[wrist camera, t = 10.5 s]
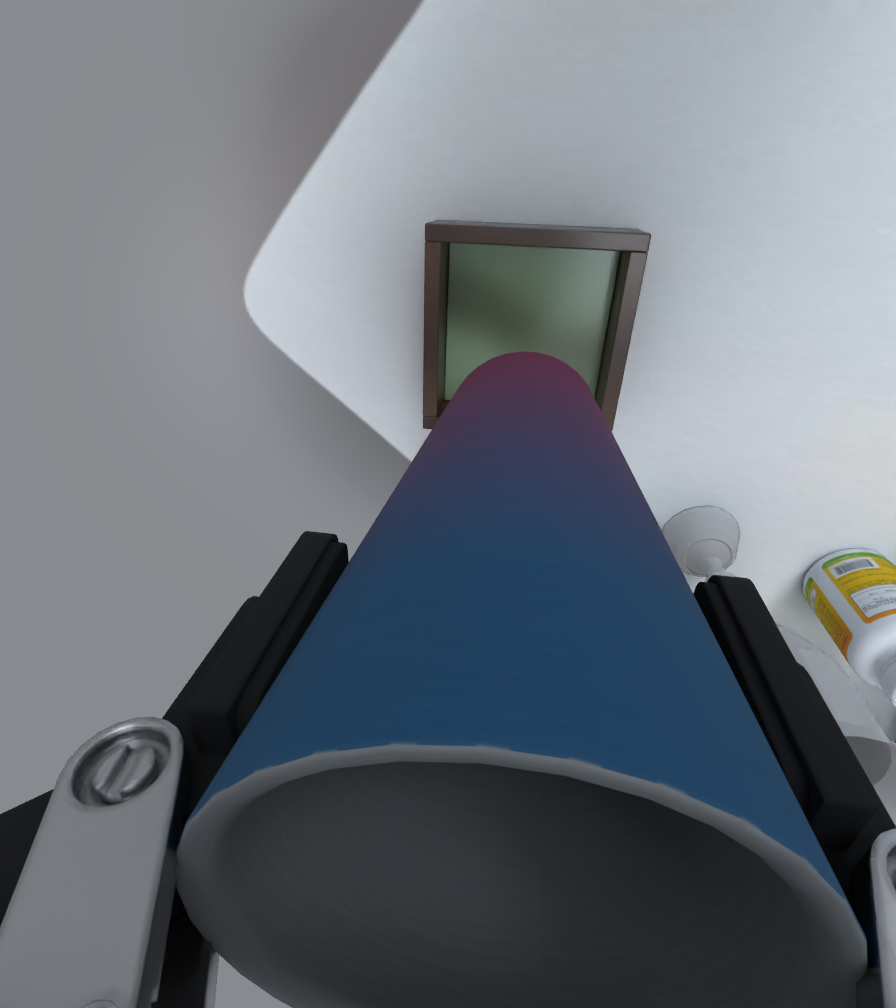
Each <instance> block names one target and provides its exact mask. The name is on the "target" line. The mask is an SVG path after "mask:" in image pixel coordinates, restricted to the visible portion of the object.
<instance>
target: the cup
mask: <svg viewBox="0 0 896 1008" xmlns="http://www.w3.org/2000/svg"><path fill="white" fill-rule="evenodd" d="M176 856H177V859H178V862H179V867H178V873H177V879H176V885H177V890H178V893H179V895H180V897H181V900H182V902H183V904H184V907H185V909H186V911H187V914H188V916H189V918H190V920H191V921H192V922H193V924H194V925H195V926H196V928H197V929H198V930H199V932H200V933H201V934H202V936H203V937H204V938H205V939H206V940H208V941H211V942H212V945H213V948H214V950H215V951H216V952H217V953H218V954H219V955H220V956H221V957H223V958H224V959H225V960H226V961H227V962H228V963H229V964H230V965H231V966H232V967H234V968H235V969H236V970H237V971H238V972H239V973H240V974H241V975H243V976H244V977H246V978H247V979H248V980H250V981H251V982H253V983H254V984H256V985H257V986H259V987H260V988H261V989H263V990H264V991H266V992H267V993H269V994H270V995H272V996H273V997H274V998H276V999H278V1000H280V1001H281V1002H283V1003H285V1004H287V1005H289V1006H290V1007H292V1008H855V1007H856V1005H857V1001H856V985H855V983H856V982H857V981H858V980H860V979H861V978H862V977H863V976H864V974H865V973H866V971H867V941H866V936H865V934H864V932H863V930H862V928H861V926H860V924H859V922H858V920H857V918H856V916H855V914H854V912H853V910H852V908H851V906H850V904H849V902H848V900H847V898H846V896H845V894H844V892H843V890H842V888H841V886H840V884H839V882H838V880H837V878H836V876H835V874H834V872H833V870H832V868H831V866H830V864H829V862H828V860H827V858H826V856H825V854H824V853H823V851H822V849H821V847H820V845H819V843H818V841H817V839H816V837H815V835H814V833H813V831H812V829H811V827H810V825H809V823H808V821H807V819H806V817H805V815H804V813H803V811H802V809H801V807H800V805H799V803H798V801H797V799H796V797H795V795H794V793H793V791H792V789H791V787H790V785H789V783H788V781H787V779H786V777H785V775H784V773H783V771H782V769H781V767H780V765H779V763H778V761H777V759H776V757H775V755H774V753H773V751H772V749H771V747H770V745H769V743H768V741H767V739H766V737H765V735H764V733H763V731H762V730H761V728H760V726H759V724H758V722H757V720H756V718H755V716H754V714H753V712H752V710H751V708H750V706H749V704H748V702H747V700H746V698H745V696H744V694H743V692H742V690H741V688H740V686H739V684H738V682H737V680H736V678H735V676H734V674H733V672H732V670H731V668H730V666H729V664H728V662H727V660H726V658H725V656H724V654H723V652H722V650H721V648H720V646H719V644H718V642H717V640H716V638H715V636H714V634H713V632H712V630H711V628H710V626H709V624H708V622H707V620H706V618H705V616H704V614H703V612H702V610H701V608H700V607H699V605H698V603H697V601H696V599H695V597H694V595H693V593H692V591H691V589H690V587H689V585H688V583H687V581H686V579H685V577H684V575H683V573H682V571H681V569H680V567H679V565H678V563H677V561H676V559H675V557H674V555H673V553H672V551H671V549H670V547H669V545H668V543H667V541H666V539H665V537H664V535H663V533H662V531H661V529H660V527H659V525H658V523H657V521H656V519H655V517H654V515H653V513H652V511H651V509H650V507H649V505H648V503H647V501H646V499H645V497H644V495H643V493H642V491H641V489H640V487H639V486H638V484H637V482H636V480H635V478H634V476H633V474H632V472H631V470H630V468H629V466H628V464H627V462H626V460H625V458H624V456H623V454H622V452H621V450H620V448H619V446H618V444H617V442H616V440H615V438H614V436H613V434H612V432H611V430H610V428H609V426H608V424H607V422H606V420H605V418H604V416H603V414H602V412H601V410H600V408H599V406H598V404H597V402H596V400H595V398H594V396H593V394H592V392H591V390H590V388H589V386H588V384H587V383H586V382H585V381H584V379H583V378H582V377H581V376H580V374H579V373H578V372H576V371H575V370H574V369H573V368H571V367H570V366H569V365H568V364H567V363H565V362H563V361H561V360H559V359H557V358H555V357H553V356H549V355H545V354H542V353H538V352H525V351H521V352H513V353H506V354H503V355H500V356H497V357H494V358H492V359H490V360H488V361H486V362H484V363H483V364H481V365H479V366H478V367H477V368H476V369H475V370H473V371H472V372H471V373H470V374H469V375H468V376H467V377H466V378H465V380H464V381H463V382H462V384H461V385H460V386H459V388H458V389H457V391H456V392H455V394H454V396H453V397H452V399H451V400H450V402H449V404H448V405H447V407H446V408H445V410H444V412H443V413H442V415H441V416H440V418H439V419H438V421H437V423H436V424H435V426H434V427H433V429H432V431H431V432H430V434H429V435H428V437H427V439H426V440H425V442H424V443H423V445H422V447H421V448H420V450H419V451H418V453H417V455H416V456H415V458H414V459H413V461H412V463H411V464H410V466H409V468H408V469H407V471H406V472H405V474H404V475H403V477H402V479H401V480H400V482H399V483H398V485H397V487H396V488H395V490H394V491H393V493H392V494H391V496H390V498H389V499H388V501H387V503H386V504H385V506H384V507H383V509H382V510H381V512H380V514H379V515H378V517H377V518H376V520H375V522H374V523H373V525H372V527H371V528H370V530H369V531H368V533H367V534H366V536H365V538H364V539H363V541H362V542H361V544H360V546H359V547H358V549H357V550H356V552H355V554H354V555H353V557H352V558H351V560H350V562H349V563H348V565H347V566H346V568H345V569H344V571H343V573H342V574H341V576H340V577H339V579H338V581H337V582H336V584H335V585H334V587H333V589H332V590H331V592H330V593H329V595H328V597H327V598H326V600H325V601H324V603H323V605H322V606H321V608H320V609H319V611H318V613H317V614H316V616H315V617H314V619H313V621H312V622H311V624H310V625H309V627H308V629H307V630H306V632H305V633H304V635H303V637H302V638H301V640H300V641H299V643H298V644H297V646H296V648H295V649H294V651H293V652H292V654H291V656H290V657H289V659H288V660H287V662H286V664H285V665H284V667H283V668H282V670H281V672H280V673H279V675H278V676H277V678H276V680H275V681H274V683H273V684H272V686H271V688H270V689H269V691H268V692H267V694H266V696H265V697H264V699H263V700H262V702H261V704H260V705H259V707H258V708H257V710H256V712H255V713H254V715H253V716H252V718H251V719H250V721H249V723H248V724H247V726H246V727H245V729H244V731H243V732H242V734H241V735H240V737H239V739H238V740H237V742H236V743H235V745H234V747H233V748H232V750H231V751H230V753H229V755H228V756H227V758H226V759H225V761H224V763H223V764H222V766H221V767H220V769H219V771H218V772H217V774H216V775H215V777H214V779H213V780H212V782H211V783H210V785H209V787H208V788H207V790H206V791H205V793H204V794H203V796H202V798H201V799H200V801H199V802H198V804H197V806H196V807H195V809H194V810H193V812H192V814H191V815H190V817H189V818H188V820H187V822H186V824H185V827H184V830H183V833H182V835H181V838H180V841H179V844H178V846H177V850H176Z"/></svg>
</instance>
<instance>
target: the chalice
mask: <svg viewBox="0 0 896 1008" xmlns="http://www.w3.org/2000/svg"><path fill="white" fill-rule="evenodd" d="M662 533H663V535H664V537H665V539H666V541H667V543H668V545H669V547H670V549H671V551H672V553H673V555H674V557H675V559H676V561H677V563H678V565H679V567H680V569H682V570H683V571H684V572H686V573H688V574H690V575H694V576H698V577H707V578H706V580H705V582H707V581H708V579H709V578H710V577H711V576H712V575H721V576H731V577H735V576H734V575H733V574H731V573H729V572H725V570H726V569H727V568H728V567H729V566H730V565H731V564H732V563H733V561H734V559H735V558H736V554H737V548H738V542H739V536H740V530H739V526H738V523H737V522H736V520H735V519H734V518H733V516H732V515H731V514H729V513H727V512H726V511H724V510H722V509H719V508H715V507H711V506H703V507H694V508H690V509H687V510H684V511H682V512H680V513H679V514H677V515H675V516H673V517H672V518H671V519H670V520H669V521H668V522H667V523H666V524H665V526H664V528H663V530H662ZM775 624H776V623H775ZM776 625H777V627H778V629H779V631H780V633H781V634H782V636H783V638H784V640H785V642H786V643H787V645H788V647H789V649H790V651H791V652H792V654H793V656H794V658H795V660H796V661H797V662H798V663H799V664H801V665H802V666H804V668H805V669H806V670H807V672H808V673H809V674H810V676H811V678H812V680H813V681H814V683H815V685H816V687H817V688H818V690H819V692H820V694H821V695H822V697H823V699H824V701H825V702H826V704H827V706H828V708H829V710H830V711H831V713H832V715H833V717H834V718H835V720H836V722H837V724H838V725H839V727H840V729H841V731H842V732H843V734H844V736H845V738H846V739H847V741H848V743H849V745H850V746H851V748H852V750H853V752H854V754H855V755H856V757H857V759H858V761H859V762H860V764H861V766H862V768H863V769H864V771H865V773H866V775H867V776H868V778H869V780H870V782H871V783H872V785H873V787H874V789H875V791H876V792H877V794H878V796H879V798H880V799H881V801H882V803H883V805H884V806H885V808H886V810H887V812H888V813H889V815H890V817H891V819H892V820H893V822H894V824H895V825H896V743H895V742H893V741H892V740H890V739H888V737H887V735H886V734H885V732H884V731H883V729H882V728H881V726H880V725H879V723H878V722H877V720H876V718H875V717H874V715H873V714H872V712H871V711H870V709H869V708H868V706H867V705H866V703H865V701H864V700H863V698H862V697H861V695H860V694H859V692H858V691H857V689H856V688H855V686H854V684H853V683H852V681H851V680H850V678H849V677H848V675H847V674H846V673H845V671H844V670H843V669H842V668H841V666H840V665H839V664H838V663H837V662H836V661H835V660H834V659H832V658H831V657H830V656H828V655H827V654H825V653H824V652H823V651H821V650H820V649H819V648H817V647H816V646H814V645H813V644H812V643H810V642H809V641H808V640H806V639H804V638H802V637H801V636H799V635H797V634H795V633H793V632H791V631H789V630H787V629H785V628H784V627H782V626H780V625H778V624H776Z"/></svg>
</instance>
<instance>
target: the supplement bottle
mask: <svg viewBox="0 0 896 1008" xmlns="http://www.w3.org/2000/svg"><path fill="white" fill-rule="evenodd" d="M803 592H804V596H805V598H806V600H807V601H808V603H809V605H810V606H811V608H812V609H813V611H814V612H815V614H816V615H817V617H818V618H819V620H820V621H821V623H822V624H823V626H824V627H825V629H826V630H827V632H828V633H829V635H830V636H831V638H832V639H833V641H834V642H835V644H836V645H837V647H838V648H839V650H840V651H841V653H842V654H843V656H844V657H845V659H846V660H847V662H848V663H849V665H850V666H851V667H852V669H853V670H854V671H855V673H856V674H857V675H858V676H859V677H860V678H861V679H863V680H864V681H866V682H867V683H869V684H871V685H873V686H876V687H879V688H882V690H883V692H884V693H885V694H886V696H887V697H888V698H889V700H890V701H891V702H892V704H893V705H894V706H895V708H896V567H895V566H894V565H893V564H892V563H891V562H890V561H889V560H888V559H887V558H885V557H884V556H883V555H881V554H879V553H877V552H875V551H871V550H867V549H847V550H841V551H838V552H835V553H832V554H830V555H827V556H825V557H824V558H822V559H820V560H819V561H818V562H816V563H815V564H814V565H813V566H812V567H811V569H810V570H809V571H808V573H807V575H806V576H805V579H804V582H803Z"/></svg>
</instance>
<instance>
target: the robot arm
mask: <svg viewBox="0 0 896 1008" xmlns="http://www.w3.org/2000/svg"><path fill="white" fill-rule="evenodd" d="M348 563H349V562H348V550H347V545H346V544H345V543H340V542H338V538H337V535H335V534H329V533H318V532H310V531H306V532H304V533H303V534H302V535H301V536H300V538H299V539H298V541H297V542H296V544H295V545H294V547H293V548H292V550H291V551H290V553H289V554H288V556H287V557H286V558H285V560H284V561H283V563H282V564H281V566H280V567H279V569H278V570H277V572H276V573H275V575H274V576H273V578H272V579H271V580H270V582H269V583H268V585H267V586H266V588H265V589H264V591H263V592H262V594H261V595H260V597H257V596H253V597H251V598H248V599H247V600H246V602H245V603H244V604H243V605H242V606H241V608H240V609H239V611H238V612H237V613H236V615H235V616H234V618H233V619H232V620H231V622H230V623H229V625H228V626H227V627H226V629H225V630H224V632H223V633H222V635H221V636H220V637H219V639H218V640H217V642H216V643H215V645H214V646H213V647H212V649H211V650H210V651H209V653H208V654H207V656H206V657H205V659H204V660H203V661H202V663H201V664H200V666H199V667H198V668H197V670H196V671H195V673H194V674H193V675H192V677H191V679H190V680H189V681H188V683H187V684H186V685H185V687H184V688H183V690H182V691H181V692H180V694H179V695H178V697H177V698H176V699H175V701H174V702H173V704H172V705H171V707H170V708H169V709H168V711H167V712H166V714H165V715H164V716H163V718H162V719H160V718H155V717H140V718H133V719H129V720H126V721H122V722H119V723H116V724H114V725H112V726H110V727H108V728H106V729H104V730H102V731H100V732H98V733H97V734H96V735H94V736H93V737H92V738H90V739H89V740H87V741H86V742H85V743H84V744H82V745H81V746H80V747H79V748H78V750H77V751H76V752H75V753H74V754H73V755H72V756H71V757H70V758H69V759H68V761H67V763H66V764H65V766H64V768H63V770H62V772H61V773H60V775H59V777H58V780H57V782H56V785H55V788H54V789H53V790H51V791H48V792H46V793H44V794H42V795H40V796H38V797H36V798H34V799H32V800H29V801H27V802H25V803H23V804H21V805H19V806H17V807H15V808H13V809H11V810H8V811H7V812H4V813H2V814H0V1008H214V1006H215V994H216V984H217V973H218V962H219V954H218V953H217V952H216V951H215V950H214V948H213V945H212V942H211V941H208V940H206V939H205V938H204V937H203V936H202V934H201V933H200V932H199V930H198V929H197V928H196V926H195V925H194V924H193V922H192V921H191V920H190V918H189V916H188V914H187V911H186V909H185V907H184V904H183V902H182V900H181V897H180V895H179V893H178V890H177V885H176V879H177V873H178V867H179V862H178V859H177V856H176V850H177V846H178V844H179V841H180V838H181V835H182V833H183V830H184V827H185V824H186V822H187V820H188V818H189V817H190V815H191V814H192V812H193V810H194V809H195V807H196V806H197V804H198V802H199V801H200V799H201V798H202V796H203V794H204V793H205V791H206V790H207V788H208V787H209V785H210V783H211V782H212V780H213V779H214V777H215V775H216V774H217V772H218V771H219V769H220V767H221V766H222V764H223V763H224V761H225V759H226V758H227V756H228V755H229V753H230V751H231V750H232V748H233V747H234V745H235V743H236V742H237V740H238V739H239V737H240V735H241V734H242V732H243V731H244V729H245V727H246V726H247V724H248V723H249V721H250V719H251V718H252V716H253V715H254V713H255V712H256V710H257V708H258V707H259V705H260V704H261V702H262V700H263V699H264V697H265V696H266V694H267V692H268V691H269V689H270V688H271V686H272V684H273V683H274V681H275V680H276V678H277V676H278V675H279V673H280V672H281V670H282V668H283V667H284V665H285V664H286V662H287V660H288V659H289V657H290V656H291V654H292V652H293V651H294V649H295V648H296V646H297V644H298V643H299V641H300V640H301V638H302V637H303V635H304V633H305V632H306V630H307V629H308V627H309V625H310V624H311V622H312V621H313V619H314V617H315V616H316V614H317V613H318V611H319V609H320V608H321V606H322V605H323V603H324V601H325V600H326V598H327V597H328V595H329V593H330V592H331V590H332V589H333V587H334V585H335V584H336V582H337V581H338V579H339V577H340V576H341V574H342V573H343V571H344V569H345V568H346V566H347V565H348ZM693 595H694V597H695V599H696V601H697V603H698V605H699V607H700V608H701V610H702V612H703V614H704V616H705V618H706V620H707V622H708V624H709V626H710V628H711V630H712V632H713V634H714V636H715V638H716V640H717V642H718V644H719V646H720V648H721V650H722V652H723V654H724V656H725V658H726V660H727V662H728V664H729V666H730V668H731V670H732V672H733V674H734V676H735V678H736V680H737V682H738V684H739V686H740V688H741V690H742V692H743V694H744V696H745V698H746V700H747V702H748V704H749V706H750V708H751V710H752V712H753V714H754V716H755V718H756V720H757V722H758V724H759V726H760V728H761V730H762V731H763V733H764V735H765V737H766V739H767V741H768V743H769V745H770V747H771V749H772V751H773V753H774V755H775V757H776V759H777V761H778V763H779V765H780V767H781V769H782V771H783V773H784V775H785V777H786V779H787V781H788V783H789V785H790V787H791V789H792V791H793V793H794V795H795V797H796V799H797V801H798V803H799V805H800V807H801V809H802V811H803V813H804V815H805V817H806V819H807V821H808V823H809V825H810V827H811V829H812V831H813V833H814V835H815V837H816V839H817V841H818V843H819V845H820V847H821V849H822V851H823V853H824V854H825V856H826V858H827V860H828V862H829V864H830V866H831V868H832V870H833V872H834V874H835V876H836V878H837V880H838V882H839V884H840V886H841V888H842V890H843V892H844V894H845V896H846V898H847V900H848V902H849V904H850V906H851V908H852V910H853V912H854V914H855V916H856V918H857V920H858V922H859V924H860V926H861V928H862V930H863V932H864V934H865V936H866V941H867V971H866V973H865V974H864V976H863V977H862V978H861V979H860V980H858V981H857V982H856V983H855V985H856V1001H857V1005H856V1007H855V1008H896V826H895V824H894V822H893V820H892V819H891V817H890V815H889V813H888V812H887V810H886V808H885V806H884V805H883V803H882V801H881V799H880V798H879V796H878V794H877V792H876V791H875V789H874V787H873V785H872V783H871V782H870V780H869V778H868V776H867V775H866V773H865V771H864V769H863V768H862V766H861V764H860V762H859V761H858V759H857V757H856V755H855V754H854V752H853V750H852V748H851V746H850V745H849V743H848V741H847V739H846V738H845V736H844V734H843V732H842V731H841V729H840V727H839V725H838V724H837V722H836V720H835V718H834V717H833V715H832V713H831V711H830V710H829V708H828V706H827V704H826V702H825V701H824V699H823V697H822V695H821V694H820V692H819V690H818V688H817V687H816V685H815V683H814V681H813V680H812V678H811V676H810V674H809V673H808V672H807V670H806V669H805V668H804V666H802V665H801V664H799V663H798V662H797V661H796V660H795V658H794V656H793V654H792V652H791V651H790V649H789V647H788V645H787V643H786V642H785V640H784V638H783V636H782V634H781V633H780V631H779V629H778V627H777V625H776V624H775V622H774V620H773V618H772V616H771V615H770V613H769V611H768V609H767V607H766V606H765V604H764V602H763V600H762V598H761V597H760V595H759V593H758V591H757V589H756V588H755V586H754V584H753V583H752V581H751V580H750V579H747V578H740V577H731V576H721V575H712V576H711V577H710V578H709V579H708V581H707V582H699V583H698V584H697V586H696V588H695V591H694V594H693Z"/></svg>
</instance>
